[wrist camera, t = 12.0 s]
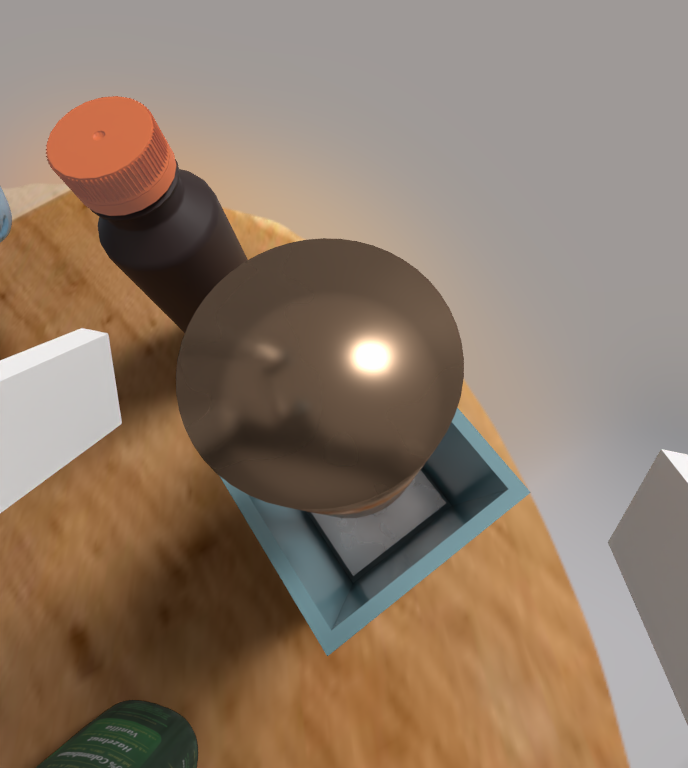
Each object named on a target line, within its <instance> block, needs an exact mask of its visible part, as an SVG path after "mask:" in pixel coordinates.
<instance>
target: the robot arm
mask: <svg viewBox="0 0 688 768" xmlns="http://www.w3.org/2000/svg"><path fill="white" fill-rule="evenodd" d="M11 225H12V215H11V210H10V207H9V204H8V201H7V199H6V197H5V195H4V192H3V190H2V188H1V187H0V242H2V241H3V240H4V239H5V238H6V237H7V236H8V234H9V232H10V230H11ZM121 424H122V420H121V414H120V407H119V401H118V394H117V388H116V381H115V375H114V368H113V362H112V355H111V349H110V342H109V336H108V333H103V332H98V331H94V330H89V329H84V328H81V329H78V330H76V331H73V332H71V333H68V334H66V335H63V336H61V337H58V338H56V339H53V340H51V341H48V342H46V343H43V344H41V345H38V346H36V347H33V348H31V349H28V350H26V351H23V352H21V353H18V354H16V355H13V356H10V357H8V358H5V359H3V360H0V513H1V512H3V511H4V510H5V509H7V508H8V507H9V506H11V505H12V504H13V503H15V502H16V501H18V500H19V499H20V498H22V497H23V496H24V495H26V494H27V493H28V492H30V491H31V490H33V489H34V488H35V487H37V486H38V485H39V484H41V483H42V482H43V481H45V480H46V479H47V478H49V477H50V476H52V475H53V474H54V473H56V472H57V471H58V470H60V469H61V468H62V467H64V466H65V465H66V464H68V463H69V462H71V461H72V460H73V459H75V458H76V457H77V456H79V455H80V454H81V453H83V452H84V451H85V450H87V449H88V448H90V447H91V446H92V445H94V444H95V443H96V442H98V441H99V440H100V439H102V438H103V437H105V436H106V435H107V434H109V433H110V432H111V431H113V430H114V429H115V428H117V427H118V426H119V425H121ZM608 543H609V546H610V548H611V550H612V552H613V555H614V557H615V559H616V562H617V564H618V566H619V569H620V571H621V573H622V575H623V578H624V580H625V582H626V585H627V587H628V589H629V592H630V594H631V596H632V598H633V601H634V603H635V605H636V607H637V610H638V612H639V614H640V616H641V619H642V621H643V623H644V626H645V628H646V630H647V632H648V635H649V637H650V640H651V642H652V644H653V646H654V649H655V651H656V653H657V656H658V658H659V660H660V663H661V665H662V667H663V669H664V671H665V674H666V676H667V678H668V681H669V683H670V685H671V688H672V690H673V692H674V695H675V697H676V699H677V701H678V704H679V706H680V708H681V711H682V713H683V715H684V718H685V720H686V722H687V724H688V455H686V454H682V453H676V452H672V451H667V450H663V449H661V451H660V452H659V454H658V456H657V458H656V459H655V461H654V463H653V464H652V466H651V468H650V470H649V471H648V473H647V475H646V477H645V479H644V480H643V482H642V484H641V486H640V487H639V489H638V491H637V492H636V494H635V496H634V498H633V500H632V501H631V503H630V505H629V507H628V508H627V510H626V512H625V514H624V515H623V517H622V519H621V521H620V522H619V524H618V526H617V528H616V530H615V531H614V533H613V535H612V536H611V538H610V540H609V542H608Z"/></svg>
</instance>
